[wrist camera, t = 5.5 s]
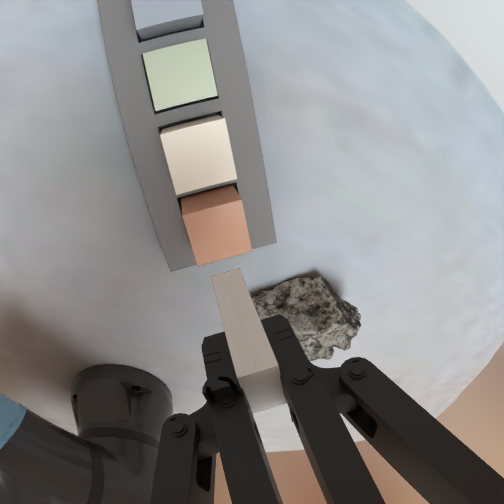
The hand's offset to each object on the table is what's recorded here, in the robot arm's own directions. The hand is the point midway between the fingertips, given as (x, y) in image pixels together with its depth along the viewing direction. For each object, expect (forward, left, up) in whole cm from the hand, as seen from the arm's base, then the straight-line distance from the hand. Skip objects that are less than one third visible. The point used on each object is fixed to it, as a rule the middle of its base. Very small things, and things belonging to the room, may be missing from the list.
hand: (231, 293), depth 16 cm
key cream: (0, +6, -12) cm, 13 cm away
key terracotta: (0, 0, -12) cm, 12 cm away
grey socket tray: (0, +9, -14) cm, 16 cm away
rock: (+7, -16, -14) cm, 22 cm away
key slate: (0, +18, -12) cm, 21 cm away
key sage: (0, +12, -13) cm, 18 cm away
